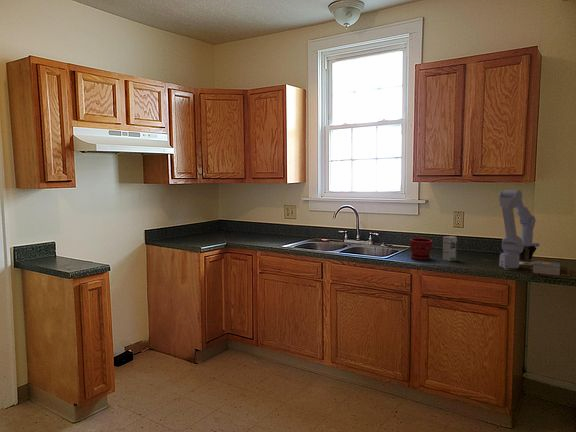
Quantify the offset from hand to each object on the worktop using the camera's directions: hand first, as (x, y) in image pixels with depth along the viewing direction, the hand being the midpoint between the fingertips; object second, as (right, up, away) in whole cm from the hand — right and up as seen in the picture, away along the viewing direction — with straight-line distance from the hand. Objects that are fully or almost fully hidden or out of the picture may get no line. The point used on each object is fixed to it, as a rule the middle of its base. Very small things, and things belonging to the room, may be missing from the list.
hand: (525, 259), depth 253 cm
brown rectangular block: (0, -1, 0) cm, 1 cm away
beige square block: (0, -3, 0) cm, 3 cm away
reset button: (+1, -4, -18) cm, 18 cm away
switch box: (+1, -5, -18) cm, 18 cm away
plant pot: (-55, -2, +20) cm, 58 cm away
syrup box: (-38, -2, +15) cm, 41 cm away
